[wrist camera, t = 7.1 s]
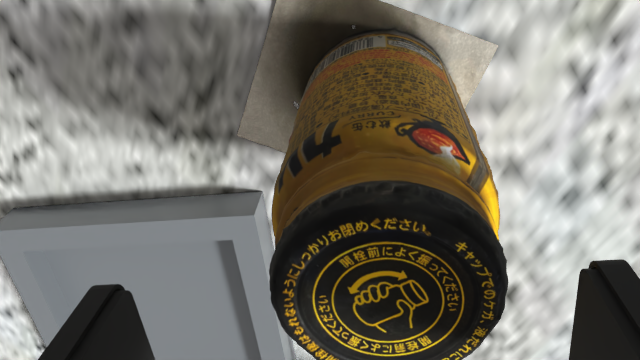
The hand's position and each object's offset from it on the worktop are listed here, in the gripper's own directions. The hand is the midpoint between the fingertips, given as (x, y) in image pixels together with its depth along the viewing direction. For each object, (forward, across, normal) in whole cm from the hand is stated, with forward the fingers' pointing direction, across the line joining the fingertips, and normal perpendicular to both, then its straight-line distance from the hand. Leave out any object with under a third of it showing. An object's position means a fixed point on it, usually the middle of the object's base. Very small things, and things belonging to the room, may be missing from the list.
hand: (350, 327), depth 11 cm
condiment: (+13, 0, -1) cm, 13 cm away
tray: (+13, +11, +10) cm, 19 cm away
